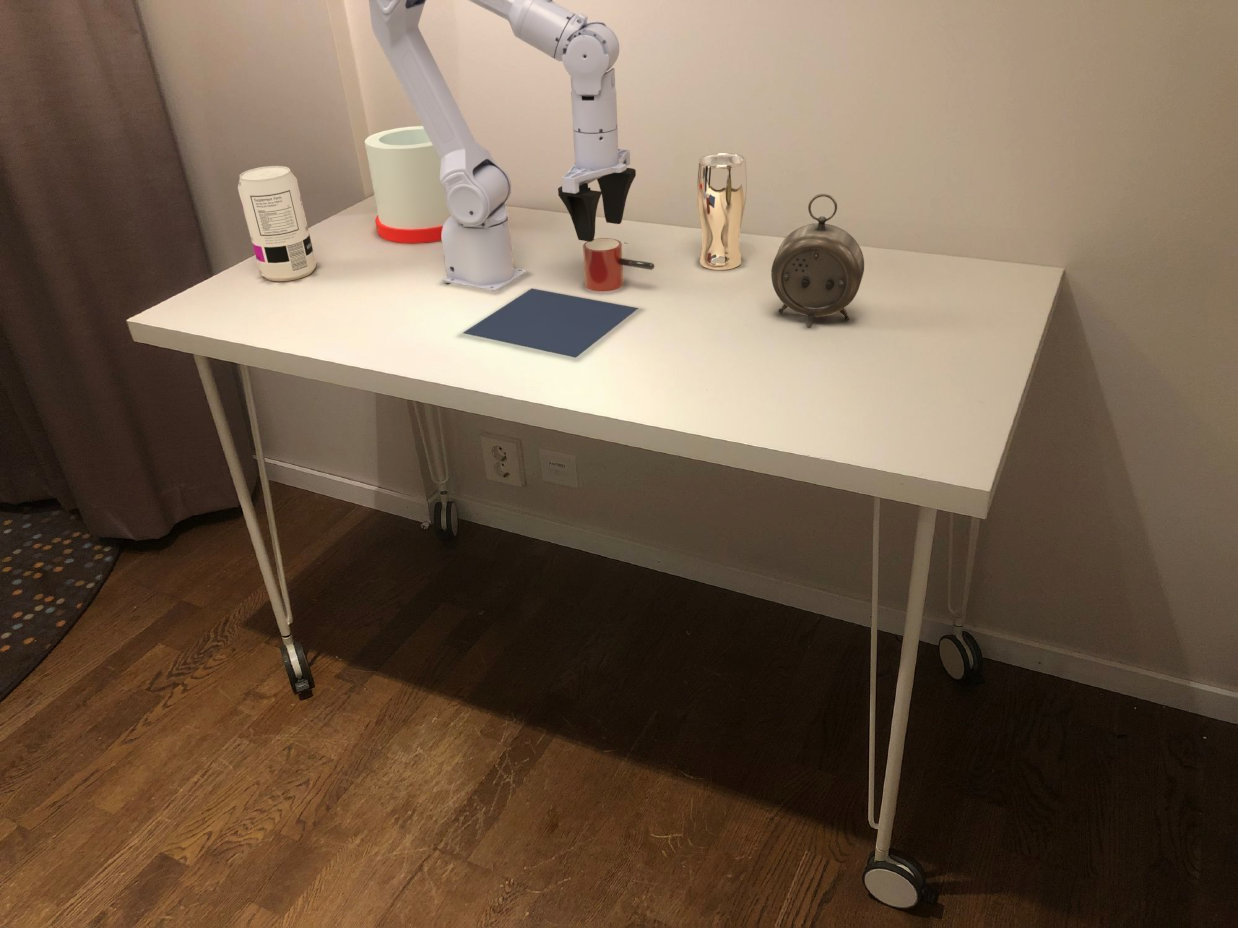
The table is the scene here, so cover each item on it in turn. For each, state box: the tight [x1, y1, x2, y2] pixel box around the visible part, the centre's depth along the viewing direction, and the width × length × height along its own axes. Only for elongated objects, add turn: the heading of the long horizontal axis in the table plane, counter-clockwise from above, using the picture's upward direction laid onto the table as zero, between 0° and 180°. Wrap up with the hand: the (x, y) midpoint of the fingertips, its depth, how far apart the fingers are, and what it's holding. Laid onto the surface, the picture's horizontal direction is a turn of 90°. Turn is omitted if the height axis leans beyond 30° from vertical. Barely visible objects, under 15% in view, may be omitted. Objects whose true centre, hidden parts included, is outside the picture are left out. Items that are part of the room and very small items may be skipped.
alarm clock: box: [770, 193, 865, 328], centre depth 114 cm, size 11×5×16 cm, turn 71°
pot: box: [582, 237, 655, 292], centre depth 129 cm, size 11×5×6 cm, turn 61°
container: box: [364, 125, 452, 244], centre depth 152 cm, size 16×16×15 cm
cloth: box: [462, 288, 639, 359], centre depth 122 cm, size 17×16×1 cm
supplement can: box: [237, 165, 317, 282], centre depth 137 cm, size 8×8×15 cm
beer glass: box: [696, 152, 748, 271], centre depth 133 cm, size 7×7×15 cm
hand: (600, 231), depth 127 cm, fingers open, 7 cm apart
